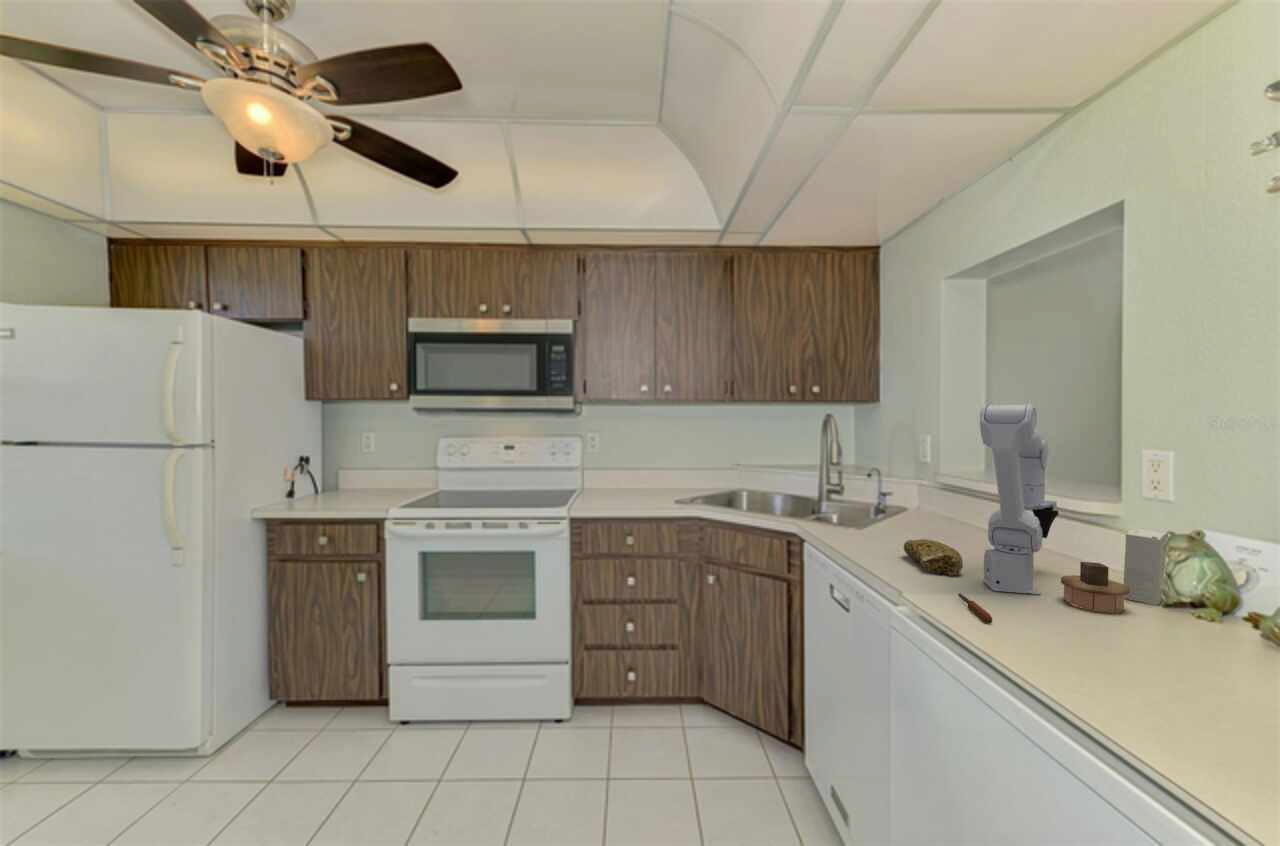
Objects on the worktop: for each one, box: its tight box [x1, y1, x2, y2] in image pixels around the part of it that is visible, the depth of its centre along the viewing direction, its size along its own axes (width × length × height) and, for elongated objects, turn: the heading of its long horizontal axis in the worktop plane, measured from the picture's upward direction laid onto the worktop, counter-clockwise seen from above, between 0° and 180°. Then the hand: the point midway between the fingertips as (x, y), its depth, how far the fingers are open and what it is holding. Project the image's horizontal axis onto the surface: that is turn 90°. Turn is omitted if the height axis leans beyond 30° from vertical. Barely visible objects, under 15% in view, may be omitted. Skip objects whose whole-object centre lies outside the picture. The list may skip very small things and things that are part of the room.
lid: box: [1060, 561, 1129, 595], centre depth 116 cm, size 11×11×5 cm
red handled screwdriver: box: [957, 592, 993, 624], centre depth 113 cm, size 16×1×2 cm, turn 169°
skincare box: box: [1123, 528, 1167, 606], centre depth 121 cm, size 8×6×15 cm
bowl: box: [1063, 585, 1125, 614], centre depth 117 cm, size 9×9×4 cm
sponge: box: [903, 538, 963, 577], centre depth 148 cm, size 13×8×20 cm
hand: (1030, 538), depth 139 cm, fingers open, 7 cm apart
